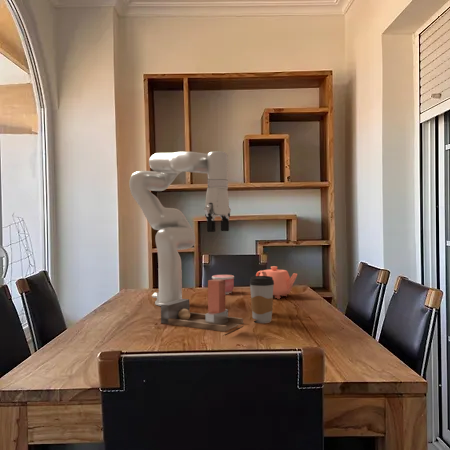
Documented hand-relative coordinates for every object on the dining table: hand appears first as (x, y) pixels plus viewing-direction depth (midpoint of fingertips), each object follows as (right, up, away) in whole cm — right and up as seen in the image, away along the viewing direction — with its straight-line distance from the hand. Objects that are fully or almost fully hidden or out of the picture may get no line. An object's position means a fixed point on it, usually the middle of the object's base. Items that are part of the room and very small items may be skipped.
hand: (218, 231), depth 167 cm
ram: (0, -29, -24) cm, 38 cm away
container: (+2, -30, +45) cm, 54 cm away
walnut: (-11, -29, -18) cm, 36 cm away
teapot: (+25, -30, +33) cm, 51 cm away
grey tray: (-5, -31, -21) cm, 37 cm away
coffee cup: (+15, -31, -14) cm, 37 cm away
